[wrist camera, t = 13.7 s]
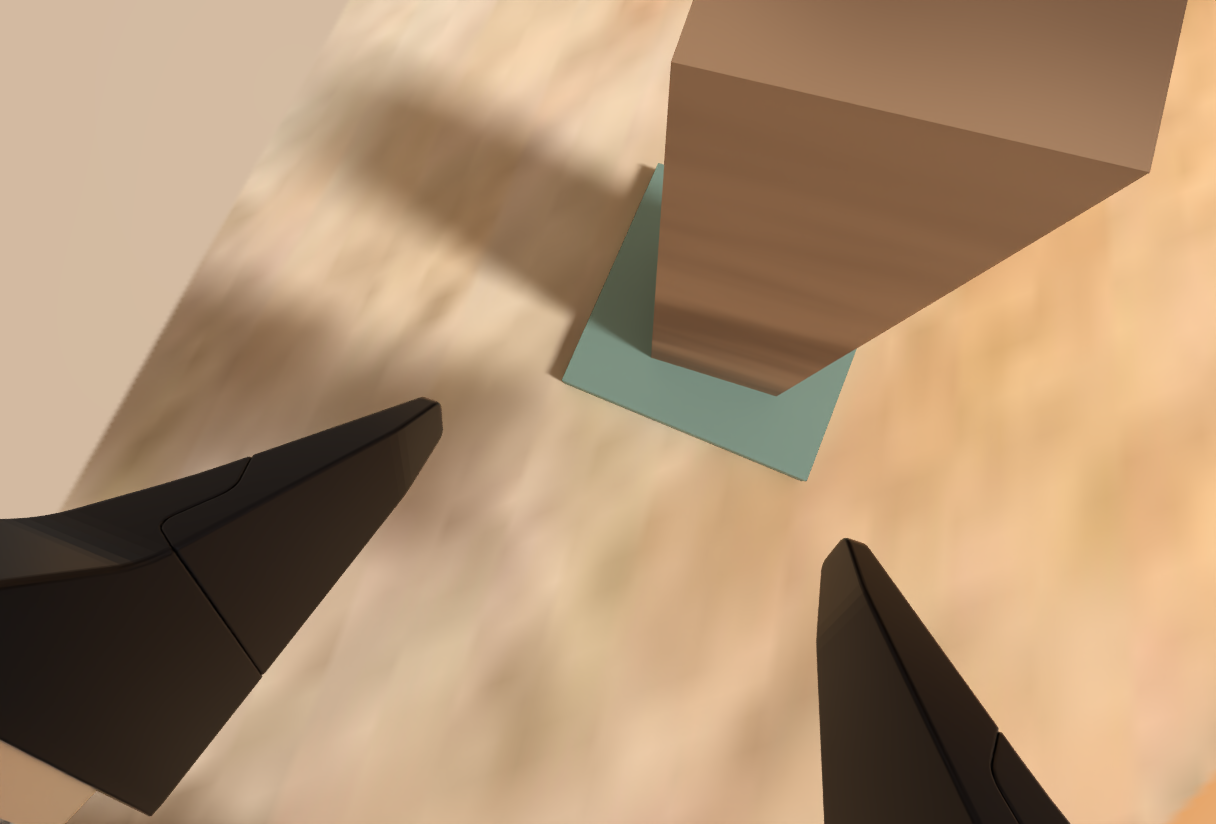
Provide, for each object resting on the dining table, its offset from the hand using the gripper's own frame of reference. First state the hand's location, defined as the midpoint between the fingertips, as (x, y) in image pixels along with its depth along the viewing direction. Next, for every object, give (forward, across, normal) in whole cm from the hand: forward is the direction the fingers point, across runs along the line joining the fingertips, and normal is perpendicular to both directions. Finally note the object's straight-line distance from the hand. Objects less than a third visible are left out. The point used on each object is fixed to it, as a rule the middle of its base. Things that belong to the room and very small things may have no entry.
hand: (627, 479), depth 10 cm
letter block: (+10, -2, 0) cm, 11 cm away
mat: (+11, -2, +1) cm, 11 cm away
